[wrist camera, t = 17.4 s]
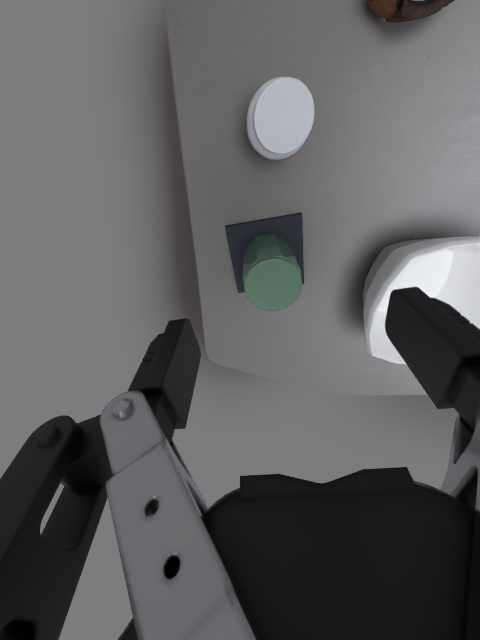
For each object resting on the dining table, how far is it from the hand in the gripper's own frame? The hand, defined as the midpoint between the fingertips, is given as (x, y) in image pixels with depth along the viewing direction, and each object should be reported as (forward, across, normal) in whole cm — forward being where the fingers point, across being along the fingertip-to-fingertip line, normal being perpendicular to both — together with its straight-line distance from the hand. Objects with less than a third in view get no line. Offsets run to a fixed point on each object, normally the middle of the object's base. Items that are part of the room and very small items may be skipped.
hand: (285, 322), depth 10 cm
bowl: (+26, -20, +15) cm, 36 cm away
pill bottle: (+26, -2, -7) cm, 27 cm away
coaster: (+26, 0, +8) cm, 27 cm away
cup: (+25, 0, +8) cm, 26 cm away
